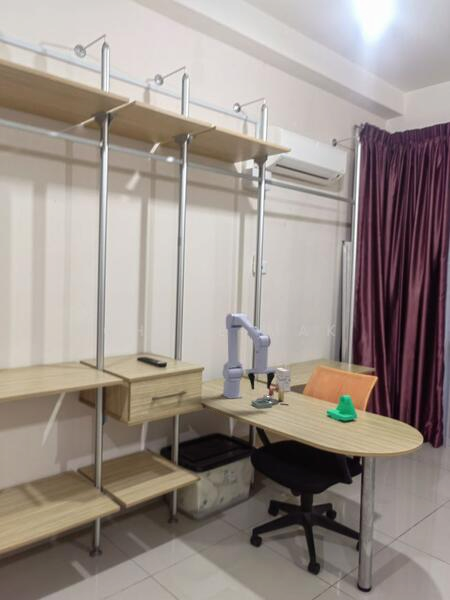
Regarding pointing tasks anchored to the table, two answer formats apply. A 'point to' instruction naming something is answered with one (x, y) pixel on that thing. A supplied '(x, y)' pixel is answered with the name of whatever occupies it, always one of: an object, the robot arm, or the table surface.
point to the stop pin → (281, 395)
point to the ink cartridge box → (283, 378)
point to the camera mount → (343, 409)
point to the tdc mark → (284, 404)
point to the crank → (271, 394)
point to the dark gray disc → (269, 401)
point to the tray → (258, 405)
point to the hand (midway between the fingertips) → (260, 388)
